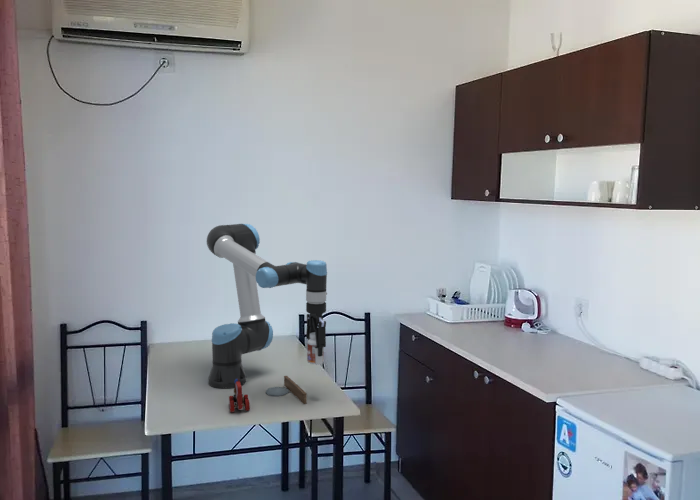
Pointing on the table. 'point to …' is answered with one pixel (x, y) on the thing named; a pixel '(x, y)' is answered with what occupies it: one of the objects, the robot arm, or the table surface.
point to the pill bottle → (312, 348)
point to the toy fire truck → (238, 398)
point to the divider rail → (295, 389)
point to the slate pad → (277, 391)
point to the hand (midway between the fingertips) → (315, 361)
